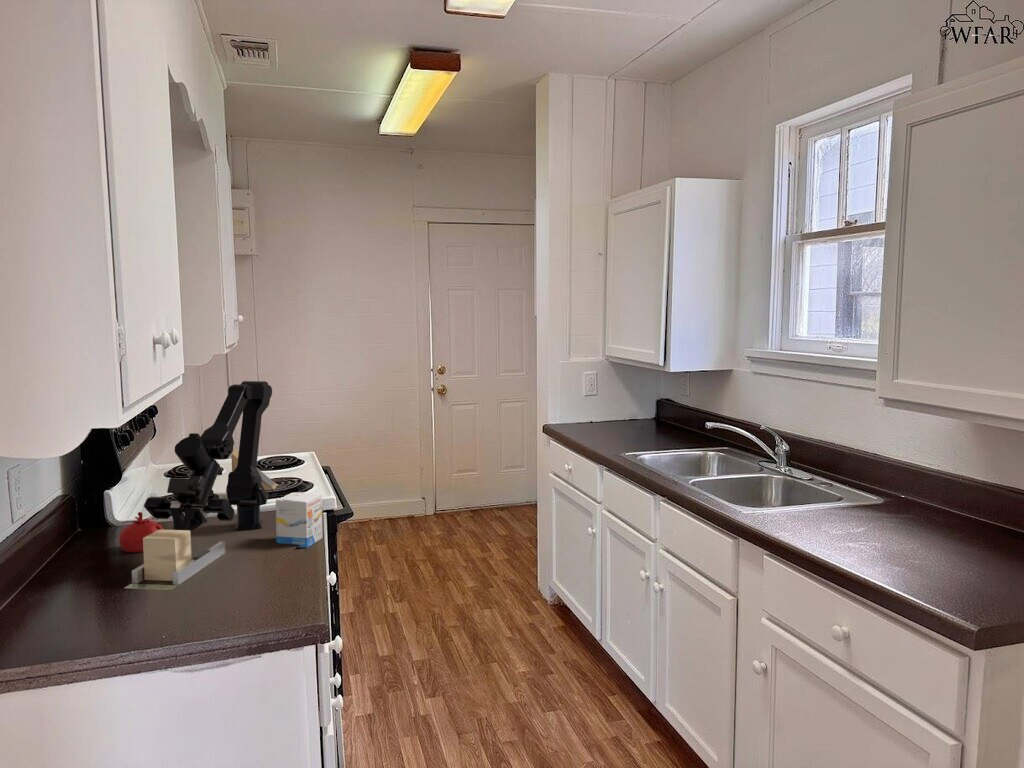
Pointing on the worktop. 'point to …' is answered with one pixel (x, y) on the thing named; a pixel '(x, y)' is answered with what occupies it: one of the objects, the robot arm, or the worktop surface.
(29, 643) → the worktop surface
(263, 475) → the sandwich container
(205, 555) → the chute
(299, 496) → the ink box
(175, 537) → the block
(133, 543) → the pomegranate
